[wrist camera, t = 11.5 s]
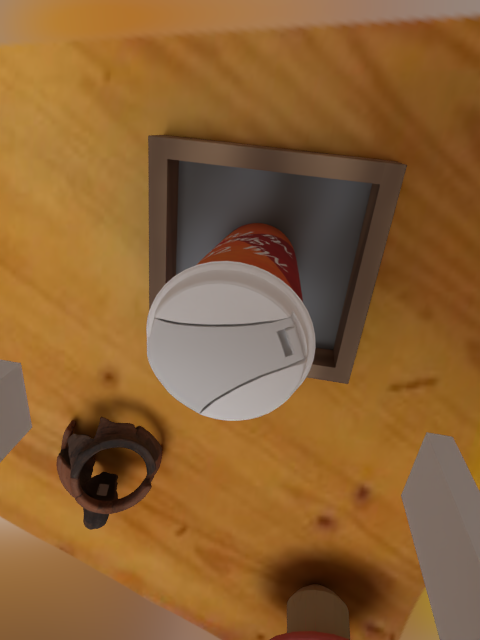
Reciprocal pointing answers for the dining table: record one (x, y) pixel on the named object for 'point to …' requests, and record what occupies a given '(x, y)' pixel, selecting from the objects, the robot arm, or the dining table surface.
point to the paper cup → (234, 328)
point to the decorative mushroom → (316, 615)
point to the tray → (279, 224)
